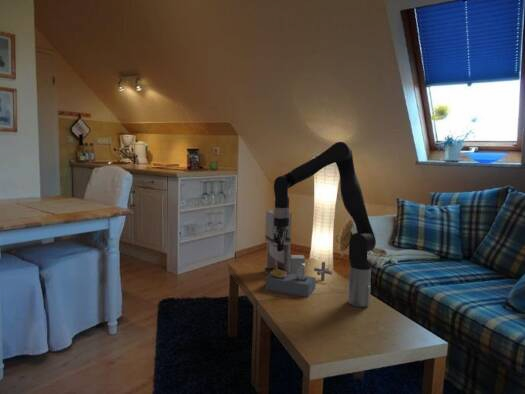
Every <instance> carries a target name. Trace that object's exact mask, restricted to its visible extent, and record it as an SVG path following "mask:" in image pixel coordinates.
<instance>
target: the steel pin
mask: <svg viewBox="0 0 525 394" xmlns="http://www.w3.org/2000/svg"><path fill="white" fill-rule="evenodd" d="M305 276H306V262H305V263H303V262H298V263H297V281H303V282H305Z"/></svg>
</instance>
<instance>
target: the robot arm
mask: <svg viewBox="0 0 525 394" xmlns="http://www.w3.org/2000/svg"><path fill="white" fill-rule="evenodd" d="M352 150H353V149H352V148H351V147H350V146H349V145H348V144H347V143H345V142H343V141H338V142H335V143H334V144H332V145H331V146H330V147H328V148H327V149H325V150H324V151H323V152H322V153H320V154H318V155H317V156H315V157H314V158H312V159H309V160H308V161H307V162H305V163H303V164H301V165H299V166H297V167H295V168H293V169H292V170H291V171H289V172H287V173H285V174H283V175H280V176H278V177H276V178H275V179H274V183H273V193H274V209H273V210H274V226H276V227H277V230H276V233H274V237H275V243H277V251H280V252H281V251H282V250H284V242H285V241H286V236H287V231H288V230H287V229H286V227H287V226H289V212H290V197H289V194H288V193H289V192H288V191H289V190H288V189H290V188H292V187H294V186H295V185H297V184H299V183H301V182H303V181H305V180H307V179H309V178H311V177H312V176H314V175H316V174H317V173H318V172H319V171H321V170H322V169H324V168H326V167H328V166H329V165H332V164H334V163H335V164H336V166H337V169H338V173H339V187H340V195H341V199H342V202H343V203H342V204H343V206H344V209H345V210H346V212H347V213H348V214H349V215H350V217H351V218H352V220H353V223H354V225H355V228H356V232H355V233H353V234H351V236H350V237H349V243H348V259H349V264H350V265H349V283H348V303H347V304H349V305H351V306H353V307H356V308H368V307H369V305H370V303H371V301H370V300H371V290H372V289H371V287H372V286H371V285H372V283H371V280H372V278H371V274H372V261H371V260H369V259H368V252H370V251H372V250H374V249H375V248H376V244H377V243H376V242H377V241H376V235H375V233H374V230H373V228H372V225H371V221H370V219H369V217H368V211H367V208H366V205H365V200H364V199H365V198H364V195H363V192H362V188H361V185H360V182H359V178H358V175H357V174H356V170H355V163H354V157H353V151H352Z"/></svg>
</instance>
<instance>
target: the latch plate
mask: <svg viewBox="0 0 525 394" xmlns="http://www.w3.org/2000/svg"><path fill="white" fill-rule="evenodd" d="M289 273H290V271H289V272H286V271H283V270H280V269H278V268H275V269H274V270H272V271H271V272H270V274H271V275H274V276H276V277H279V278H281V279H284V278H285V277H286V276H288V275H289Z"/></svg>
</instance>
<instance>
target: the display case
mask: <svg viewBox="0 0 525 394" xmlns="http://www.w3.org/2000/svg"><path fill="white" fill-rule="evenodd" d="M292 215H293V213H292V212H290V211H289V226H287V227H286V229H287V230H288V231H287V236H286V241H285V242H284V250H282V251H281V252H280V251H277V243H275V237H274V233H276V230H277V227H276V226H274V209H273V210H271V209H268V210H266V211H265V239H264V240H265V242H266V244H267V245H266V267H264V273H265V274H266V275H267V276H269V275H270V272H271V271H272V270H274V269H275V268H278V269H280V270H283V271H286V272H289V273H290V255H291V243H292V241H291V240H292V239H291V238H292Z"/></svg>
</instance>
